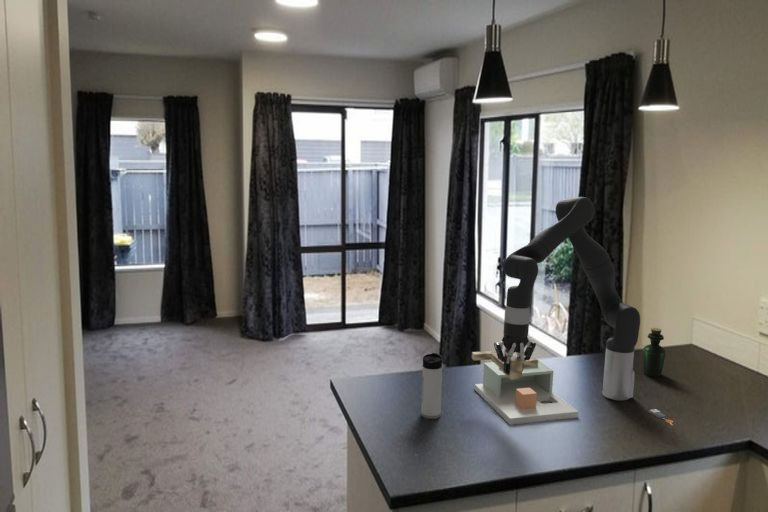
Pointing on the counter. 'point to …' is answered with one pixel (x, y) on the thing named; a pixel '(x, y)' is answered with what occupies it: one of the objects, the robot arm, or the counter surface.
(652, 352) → the potion bottle
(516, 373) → the crook
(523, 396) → the cube
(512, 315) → the robot arm
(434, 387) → the travel mug
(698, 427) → the counter surface
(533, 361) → the stick
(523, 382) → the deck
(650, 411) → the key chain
